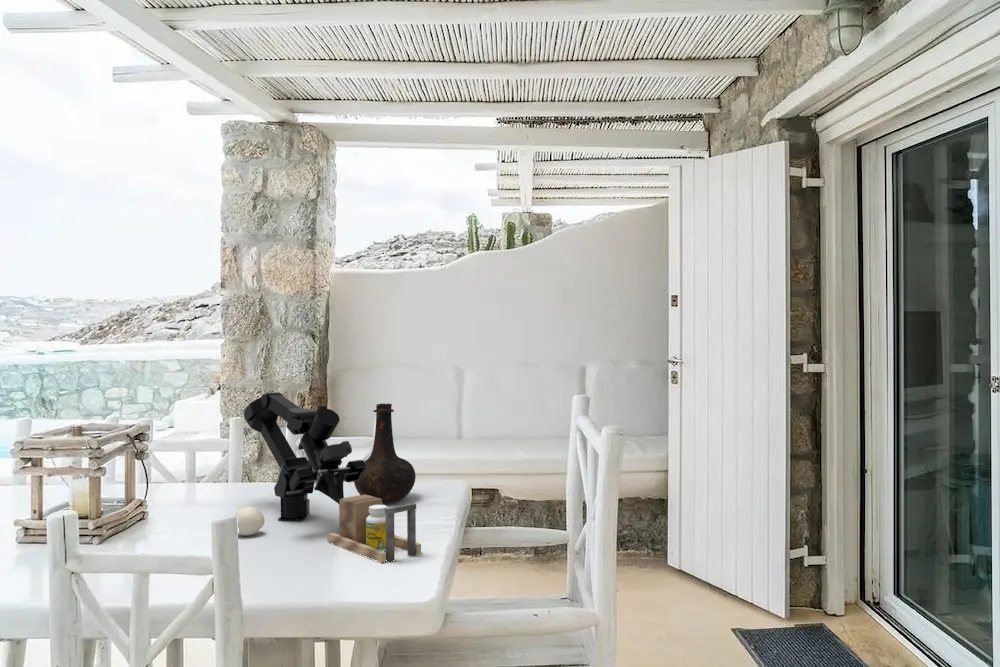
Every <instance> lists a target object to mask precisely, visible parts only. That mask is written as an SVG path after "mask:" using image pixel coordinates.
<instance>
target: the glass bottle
mask: <svg viewBox="0 0 1000 667" xmlns="http://www.w3.org/2000/svg"><path fill="white" fill-rule="evenodd" d="M392 406H393V404H392V403H378V404H376V405H375V408H376V409H374V410H373V411H372V412H374V413H376V416H375V431H374V439H373V445H372V450H371V453H370V456H369V457H367V459H366V460H363V461H364V462H365V464H366V466H367V468H366V470H365V471H364V473H363V475H362V476H361V478H360V479H359V480H358V481H355V482H353V484H354V487H355V489H356V491H357V493H358V495H364V494H366V495H369V496H373V497H377V498H380V499H382V504H389V503H395V502H398V501H401V500H403V499H404V498H405V497H407V496H408V495H409V494H410V492H411V491H412V490H413V487H414V486H415V482H416V470H415V468H414V466H413V465H412V464H411V463H410V461H408V460H407V459H404V458H402V457H399V456H398V455H397V453H396V449H395V445H394V436H393V424H392V423H393V421H392V419H393V418H392V413H393V412H395V410H394V409H393V408H392Z"/></svg>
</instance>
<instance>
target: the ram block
mask: <svg viewBox="0 0 1000 667" xmlns="http://www.w3.org/2000/svg"><path fill="white" fill-rule="evenodd" d="M372 505H383V503H382V499H380V498H377V497H373V496H369V495H366V494H364V495H360V494H358V495H353V496H348V497H344V498H342V499H339V504H338V506H339V508H338V511H339V516H338V517H339V518H338V519H339V520H338V521H339V522H338V523H339V524H338V525H339V528H338V529H339V534H338V535H340V536H343V537H345V538H348V539H351V540H353V541H356V542H359V543H362V544H364V545H366V518H367V517H368V516H369V515H370V514H369V507H370V506H372Z"/></svg>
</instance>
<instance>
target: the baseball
mask: <svg viewBox="0 0 1000 667" xmlns="http://www.w3.org/2000/svg"><path fill="white" fill-rule="evenodd" d="M234 515H235V516H237V517H238V528H239V534H238V535H239V536H244V537H245V536H246V537H249V536H252V535H254V534H257V533H258V532H259V531H260V529H262V528H263V527H264V525H265V522H266V521H265V516H264V514H263V512H261V511H260V510H259V509H257V508H256V507H254V506H246V507H242V508H239V509H238V510H237V511H235V514H234Z"/></svg>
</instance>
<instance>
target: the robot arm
mask: <svg viewBox="0 0 1000 667" xmlns="http://www.w3.org/2000/svg"><path fill="white" fill-rule="evenodd" d="M243 418H244V420H245V422H246V423H247V424H248V426H249V427H250V428H251V429H252V430H254V431H256V432H258V433H260V435H261V436H262V439H264V441H265V443H266V445H267V447H268V449H269V450H270V452H271V454H272V456H273V458H274V460H275V461H276V463H277V465H278V467H279V469H280V470H279V474H278V478H277V482H276V483H275V486H273V487H274V488H273V490H274V495H275V496H276V497H279V498H280V517H278V521H281V522H284V521H285V522H286V521H287V522H288V521H290V522H291V521H293V522H294V521H295V522H297V521H298V522H299V521H304V520H305V519H306V518H308V517H309V516H310V515H311V514H310V512H311V511H310V509H311V505H310V498H308V495H309V494H313V492H314V491H318V492H320V493H322V494H324V495H325V496H327V497H329V498H330V499H331V500H332V501H334V502H335V503H337V504H338V505H339V499H342V498H345V496H344V494H345V493H344V482H346V483H348V484H349V483H354V482H355V481H358V480H359V479H360V478H361V476H362V475H363V473H364V471H365V470H366V468H367V466H366V464H365V462H364V461H365V460H362V459H356V460H349V461H348V462H347V464H346V466H345V467H339V466H341V465H342V464H343V461H342V459H344V458H347V457H348V455H350V454H351V453H352V451H353V449H352V445H351V444H350V442H349V440H346V441H345V440H343V441H341V442H340V443H336V444H328V442H327V440H329V439H330V438H331V437H332V435H333V433H335V432H334V431H335V430H336V428H337V427H338V424H339V423H340V416H339V414H338V413H337V412H336V411H334V410H332V409H329V408H328V407H327V406H326V405H319V406H318V407H317V408H316V410H314V409H311V408H303V407H300V406H298V405H296V404H295V403H294V402H292V401H290V400H289V399H288V398H286V397H285V396H284V395H283V394H282V393H281V392H275V391H274V392H266V393H263V394H262V395H261V396H260V397H259V398H257V399H255V400H253V401H251V402H250V403H249V404H248V405H247V406H246V407H245V409H244V411H243ZM278 418H281V419H282V420H284V421H285V422H286V428H287V429H288V431H289V432H290V433H291V435H293V436H296V435H298V436H299V435H302V436H301V438H300V442H299V444H298V450H300V451H301V450H304V453H305V456H306V457H305V456H301V457H297V455H296V453H295V452H294V450H293V448H292V447H291V445H290V443H289V442H288V440H287V438H286V436H285V435H284V433H283V431H282V429H281V428H280V426H279V424H278V422H277V421H278Z"/></svg>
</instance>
